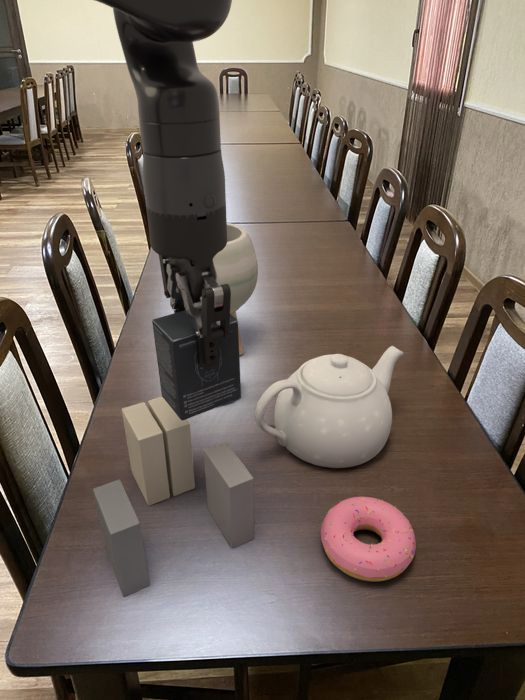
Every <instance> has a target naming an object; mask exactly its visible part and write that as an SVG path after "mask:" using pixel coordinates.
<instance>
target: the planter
mask: <svg viewBox="0 0 525 700" xmlns="http://www.w3.org/2000/svg"><path fill="white" fill-rule="evenodd" d="M257 257H258V256H257V253H256V249H255V246H254V244H253V241H252V238H251V237H250V234H249V233H248V231H247V229H245V228H244V227H242V226H240V225H239V224H236V223H230V222H227V244H226V246H225V248H224V249H223V250H222V251H220V252H218V253H217V254H216V255H215V256H214V258H213V262H214V267H215V269H216V272H217V277H218V281H217V283H218V284H219V285H224V284H228V285H229V287H230V289H231V303H230V314H231V315H232V316H233V317H235V318H236V319H238V316H237V311H238V310H239V309H241V307H243V306H244V305H245V304H246V303H247V302H248V301H249V299H250V298H251V296H252V295H253V293H254V291H255V289H256V287H257V283H258V275H259V264H258V258H257ZM193 306H194V307H198V306H202V302H198V303H194V305H193ZM238 336H239V356H242V355H243V354H244V353H245V350H244V344H243V340H242V339H243V338H242V334H241V331H240V326H239V325H238Z"/></svg>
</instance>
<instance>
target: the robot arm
mask: <svg viewBox="0 0 525 700" xmlns="http://www.w3.org/2000/svg"><path fill="white" fill-rule="evenodd" d="M93 1H95V2H98V3H100V4H103V5H105V6H106V7H107V6H108V7H110V8H112V12H113V17H114V22H115V27H116V31H117V35H118V38H119V42H120V46H121V49H122V53H123V56H124V60H125V65H126V67H127V70H128V73H129V76H130V79H131V82H132V85H133V88H134V92H135V94H136V98H137V110H138V111H137V113H138V122H139V131H140V139H141V140H140V141H141V149H142V158H143V159H142V183H143V190H144V199H145V208H146V216H147V225H148V234H149V235H148V236H149V241H150V242H149V243H150V247H151V249H152V251H153V252H154V253H156V254H157V255H158V260H159V267H160V273H161V279H162V283H163V284H162V285H163V294H164V296H165V298H166V299H170V300H169V302H170V304H169V306H170V307H171V310H173V314H174V313H177V312H181V311H184V310H186V314H187V315H188V316H189V317H192V319H193V323H194V328H195V334H196V344H197V356H198V364H199V365H200V366H201V367H202V368H207V367H210V366H214V365H217V364H218V363H219V361H220V358H219V339H218V338H222V337H227V336H229V326H230V303H231V289H230V287H229V285H228V284H224V285H219V284H218V283H217V281H218V277H217V272H216V269H215V267H214V262H213V258H214V256H215V255H216V254H217V253H218V252H220V251H222V250H223V249H224V248H225V246H226V244H227V223H228V222H227V220H228V219H227V200H226V199H227V196H226V194H227V193H226V173H225V168H224V167H225V166H224V162H223V155H222V143H221V142H222V141H221V120H220V119H221V118H220V117H221V116H220V115H221V114H220V113H221V111H220V99H219V93H218V90H217V88H216V87H217V86H216V85H215V84H214V83H213V81H211V79H209V78H208V77H207V76H206V75H204V74H203V73H202V71H201V70H200V69H199V66H198V61H197V57H196V52H195V47H194V46H195V45H194V43H196V42H200V41H203V40H205V39H207V38H208V39H209V38H210V37H211V36H213V35H214V34H215V33H216V32H218V31H219V30H220V28H222V26H223V25H224V23H225V22H226V20H227V19H228V16H229V14H230V11H231V9H232V2H233V0H93ZM198 302H202V306H201V307H197V308H195V307H194V306H193V305H194V303H198ZM201 315H202V323H201V318H200V317H201Z"/></svg>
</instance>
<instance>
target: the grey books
mask: <svg viewBox="0 0 525 700" xmlns="http://www.w3.org/2000/svg"><path fill="white" fill-rule="evenodd" d="M203 458H204V459H203V461H204V474H205V489H206V490H205V491H206V505H207V510H208V512H209V514H210V515H211V517H212V519H213V520H214V522H215V524H216V525H217V527H218V528H219V530H220V531H221V534H222V535H223V536H224V538H225V540H226V542H227V543H228V545H229V547H230V549H234V548H236V547H238V546H240V545H243V544H245V543H248V542H250V541H252V540H254V539H255V508H254V507H255V498H254V497H255V496H254V495H255V493H254V492H255V491H254V489H255V488H254V486H255V485H254V483H255V482H254V481H255V479H254V477H253V475H252V474H251V473H250V472H249V470H248V468H247V467H246V466H245V464H244V463H243V462H242V460H241V459H240V458H239V457H238V455H237V454H236V453H235V451H234V450H233V449H232V447H231V445H229V443H228V442H227V441H224V442H221V443H218V444H215V445H213V446H209V447H207V448H204V449H203ZM92 493H93V496H94V501H95V505H96V510H97V515H98V518H99V523H100V528H101V533H102V537H103V541H104V546H105V550H106V554H107V556H108V559H109V562H110V564H111V567H112V569H113V573H114V575H115V578H116V581H117V583H118V587H119V589H120V591H121V594H122V596H123V597H127V596H128V595H131V594H133V593H135V592H138V591H140V590H142V589H144V588H146V587H148V586H150V585H151V583H150V577H149V571H148V570H149V569H148V564H147V559H146V552H145V547H144V539H143V533H142V528H141V523H140V521H139V518H138V516H137V513H136V511H135V509H134V507H133V505H132V502H131V500H130V498H129V496H128V494H127V491H126V490H125V486H124V484H123V482H122V480H121V479H116V480H114V481H111V482H108V483H105V484H102V485H100V486H96V487H93V488H92Z"/></svg>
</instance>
